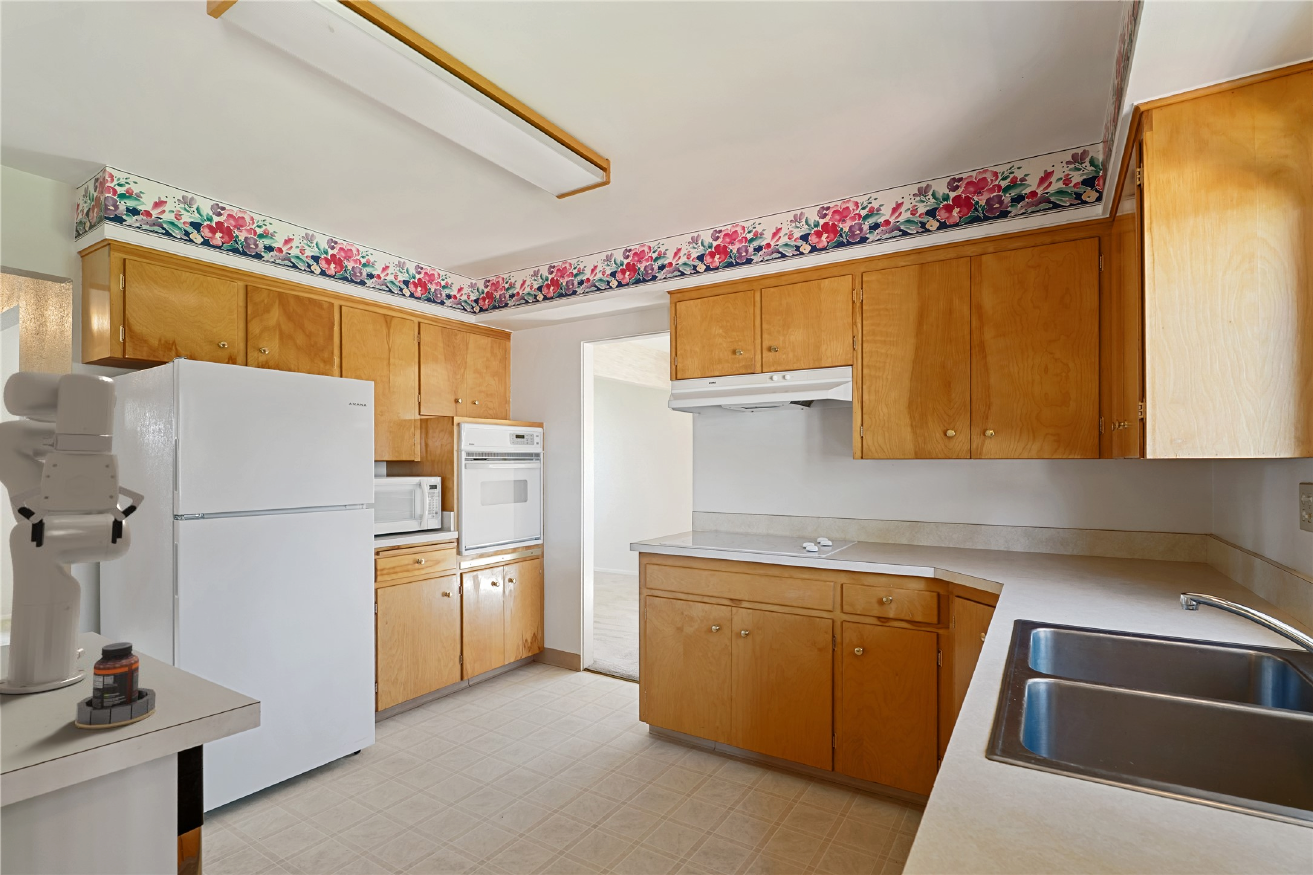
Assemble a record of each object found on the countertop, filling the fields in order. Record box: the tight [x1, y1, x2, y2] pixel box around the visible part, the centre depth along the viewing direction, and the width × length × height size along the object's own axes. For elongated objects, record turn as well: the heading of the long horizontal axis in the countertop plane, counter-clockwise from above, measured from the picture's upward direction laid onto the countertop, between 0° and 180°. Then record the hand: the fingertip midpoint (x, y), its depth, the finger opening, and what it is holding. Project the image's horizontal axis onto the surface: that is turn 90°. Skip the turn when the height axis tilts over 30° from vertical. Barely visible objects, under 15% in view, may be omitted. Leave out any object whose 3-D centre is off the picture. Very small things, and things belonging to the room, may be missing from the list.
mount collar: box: [74, 687, 156, 730], centre depth 109 cm, size 10×10×3 cm
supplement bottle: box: [91, 641, 140, 708], centre depth 109 cm, size 6×6×11 cm
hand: (77, 544), depth 112 cm, fingers open, 9 cm apart
